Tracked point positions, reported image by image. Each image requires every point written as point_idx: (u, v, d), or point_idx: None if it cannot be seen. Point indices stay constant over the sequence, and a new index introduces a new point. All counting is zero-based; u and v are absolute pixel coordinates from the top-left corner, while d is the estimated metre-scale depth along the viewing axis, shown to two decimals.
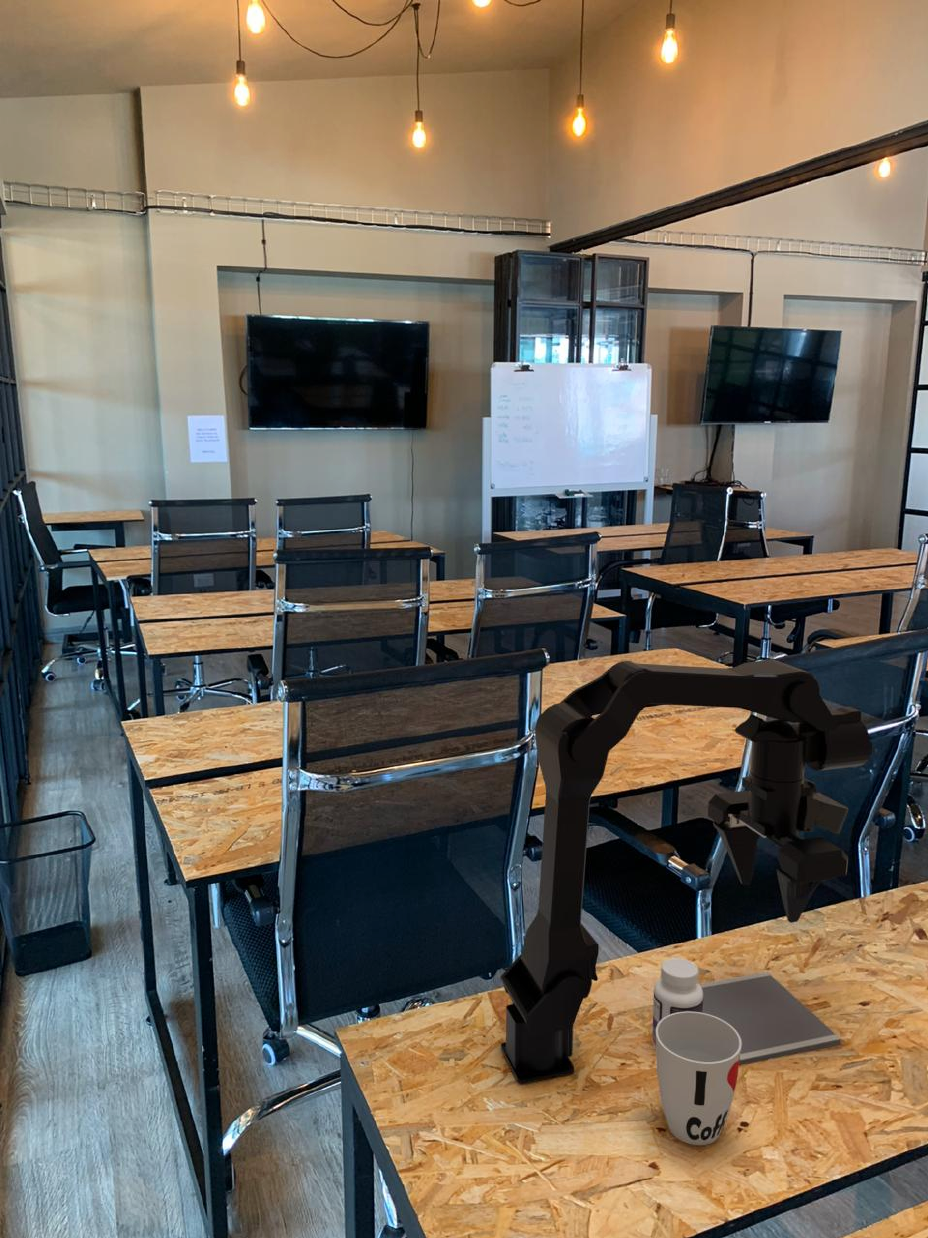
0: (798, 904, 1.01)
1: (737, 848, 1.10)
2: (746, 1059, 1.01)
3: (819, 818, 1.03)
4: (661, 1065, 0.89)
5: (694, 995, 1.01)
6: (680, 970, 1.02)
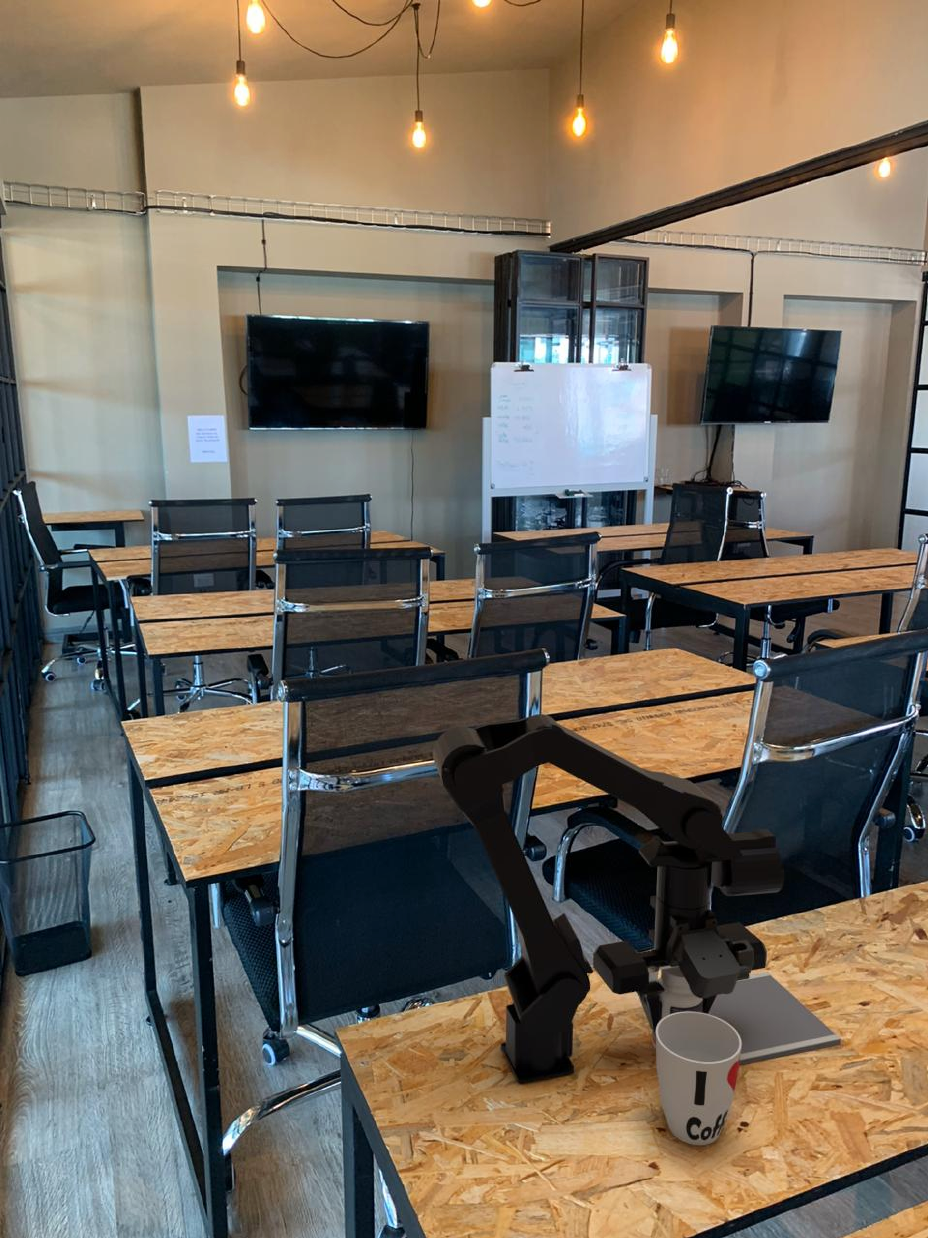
0: (646, 1010, 1.02)
1: None
2: (746, 1059, 1.01)
3: (676, 959, 0.97)
4: (661, 1065, 0.89)
5: (694, 995, 1.01)
6: (680, 970, 1.02)
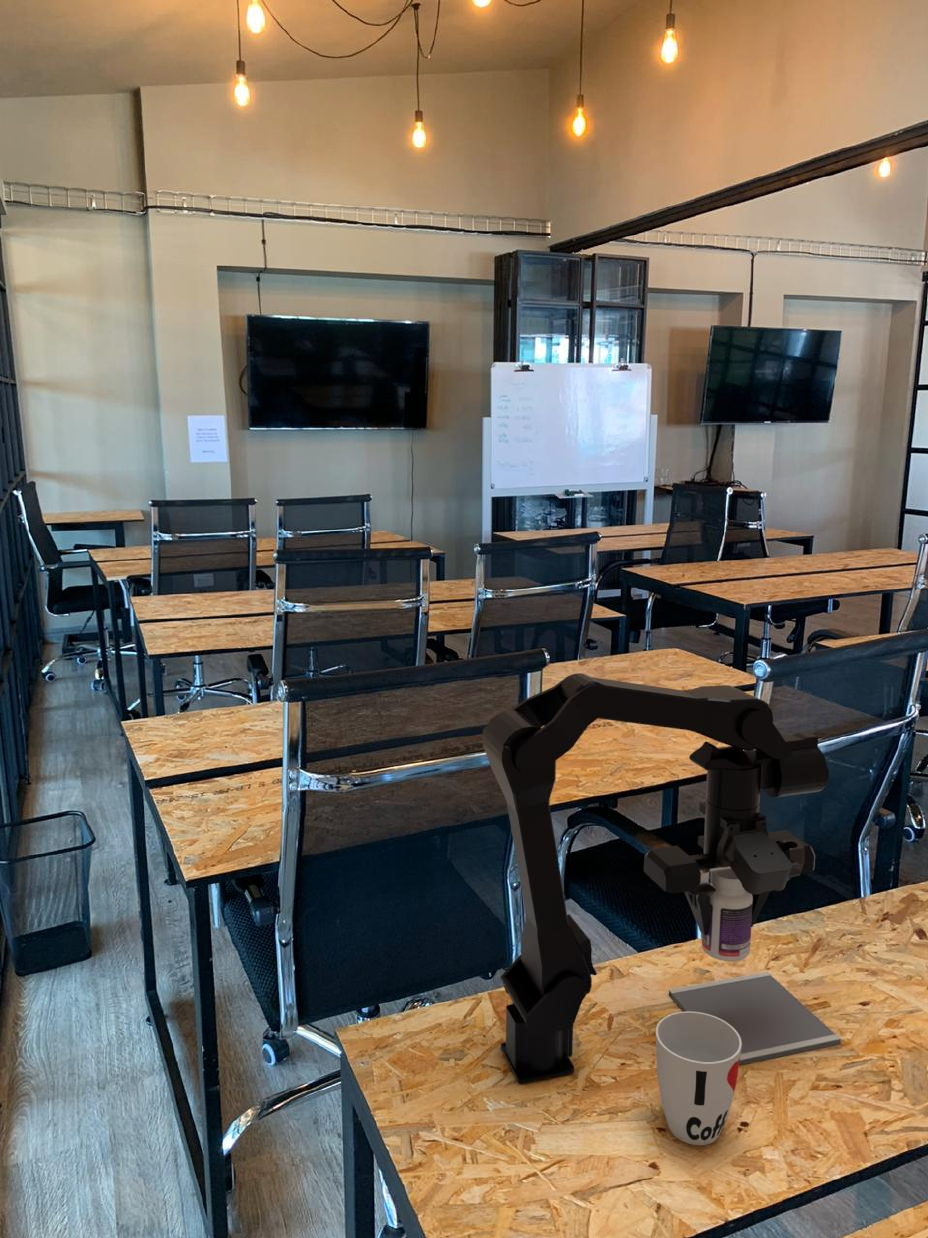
0: (696, 913, 1.04)
1: None
2: (746, 1059, 1.01)
3: (727, 858, 0.99)
4: (661, 1065, 0.89)
5: (744, 897, 1.03)
6: (730, 873, 1.04)
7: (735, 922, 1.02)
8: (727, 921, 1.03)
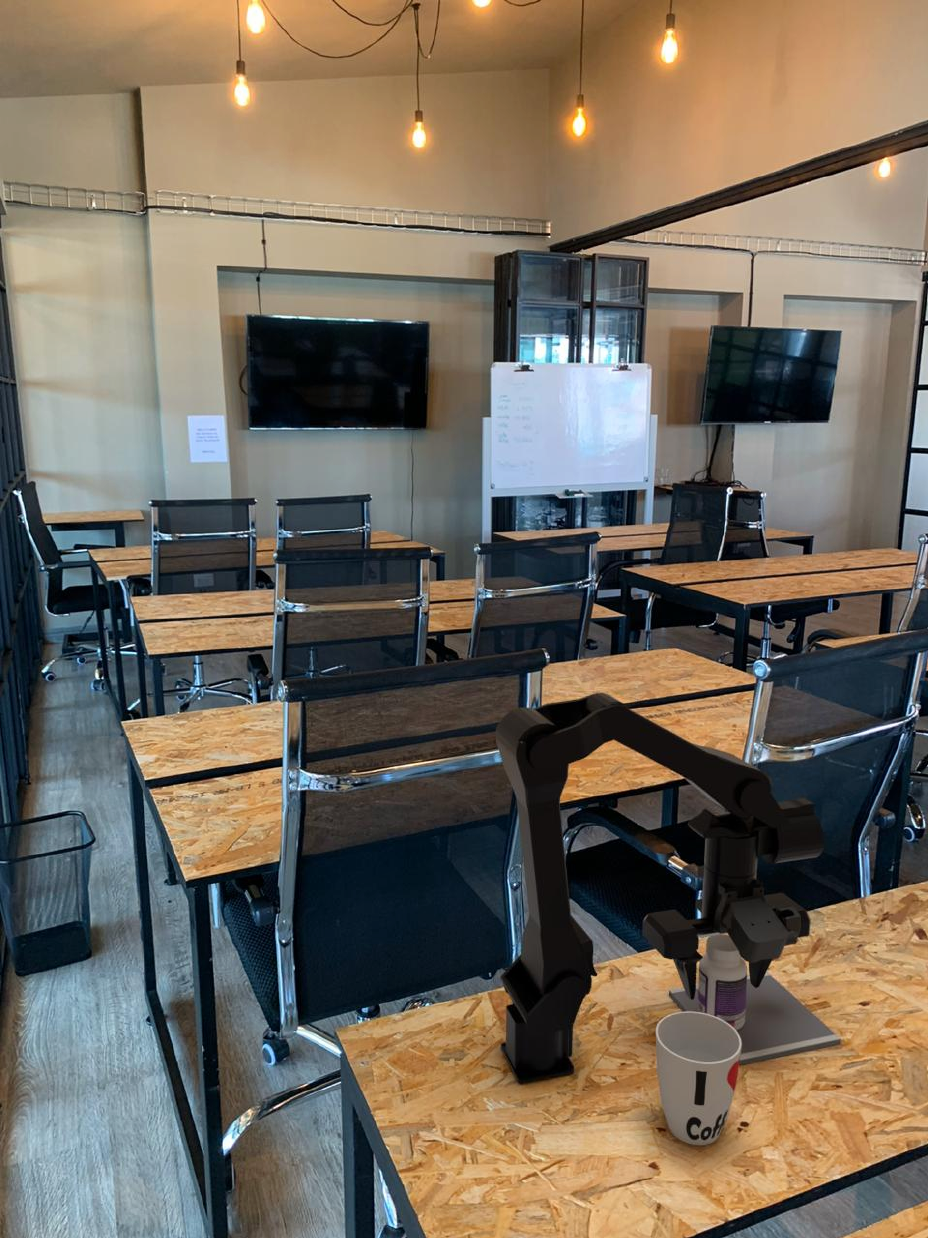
0: (683, 978, 1.05)
1: None
2: (746, 1059, 1.01)
3: (725, 925, 1.01)
4: (661, 1065, 0.89)
5: (738, 969, 1.05)
6: (725, 945, 1.06)
7: (730, 994, 1.04)
8: (722, 993, 1.04)
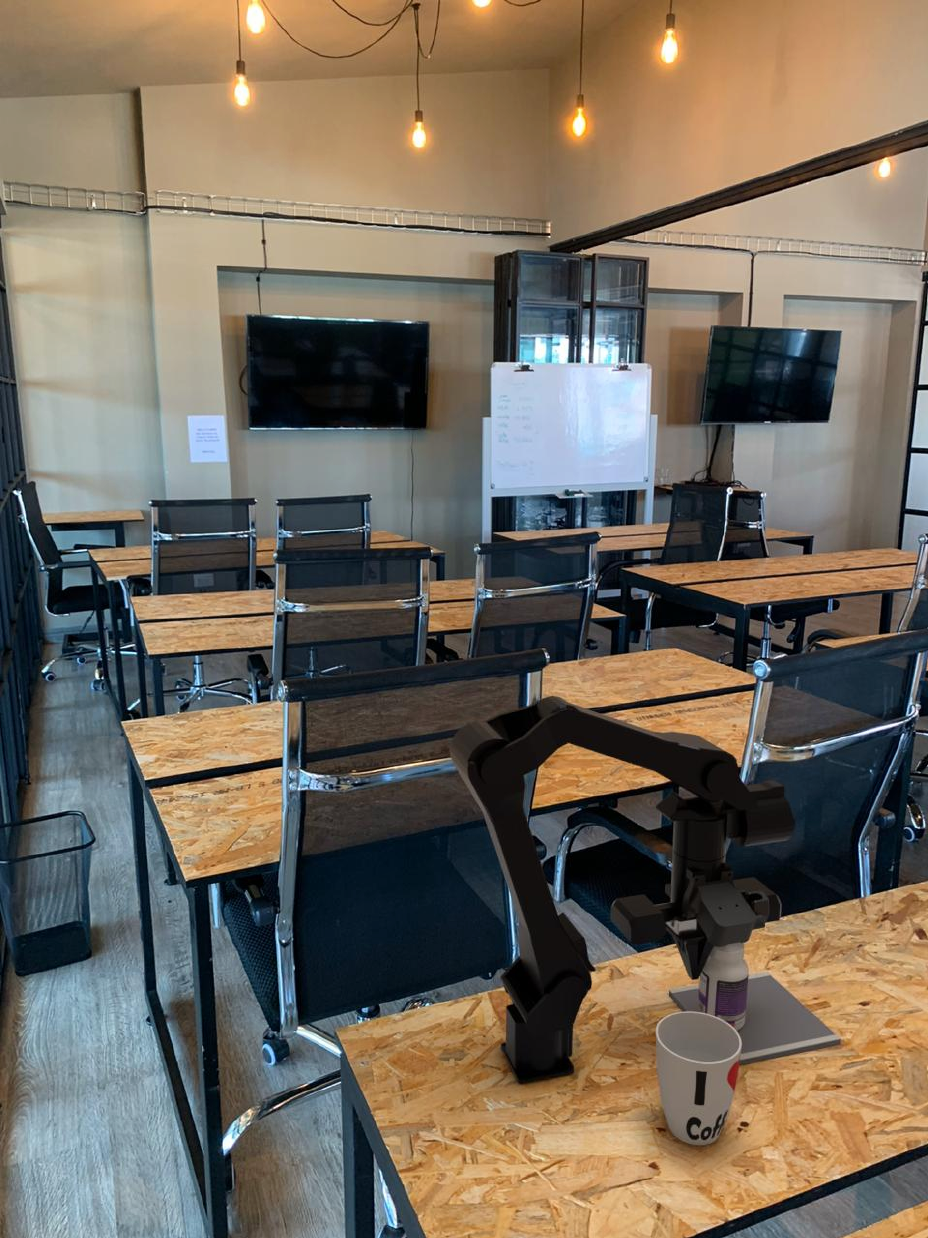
0: (684, 958, 1.05)
1: None
2: (746, 1059, 1.01)
3: (693, 909, 0.99)
4: (661, 1065, 0.89)
5: (740, 970, 1.05)
6: (727, 946, 1.05)
7: (731, 994, 1.04)
8: (723, 993, 1.04)
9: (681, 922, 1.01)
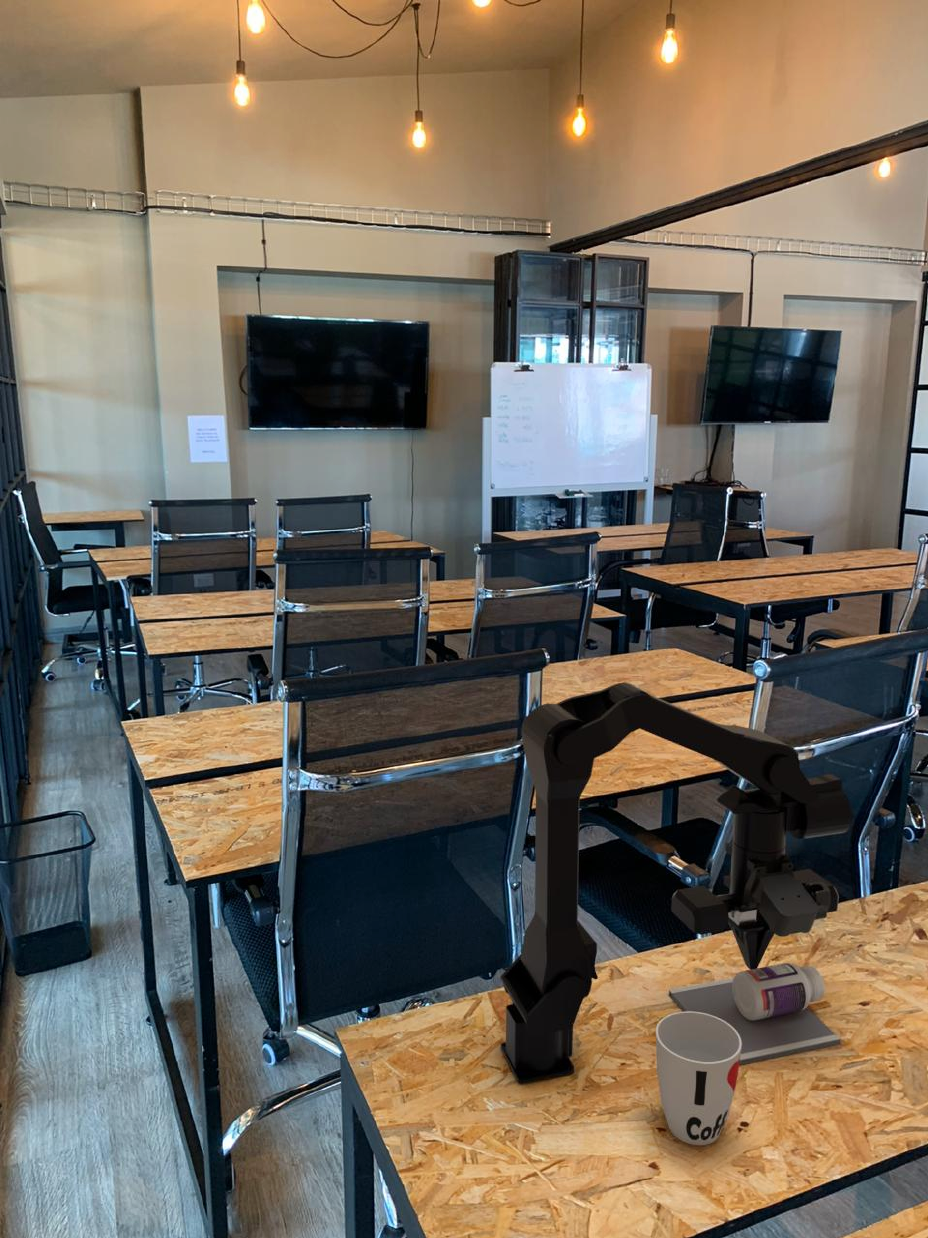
0: (743, 948, 1.07)
1: None
2: (746, 1059, 1.01)
3: (755, 900, 1.01)
4: (661, 1065, 0.89)
5: None
6: None
7: (794, 999, 1.07)
8: (794, 991, 1.07)
9: (742, 913, 1.03)
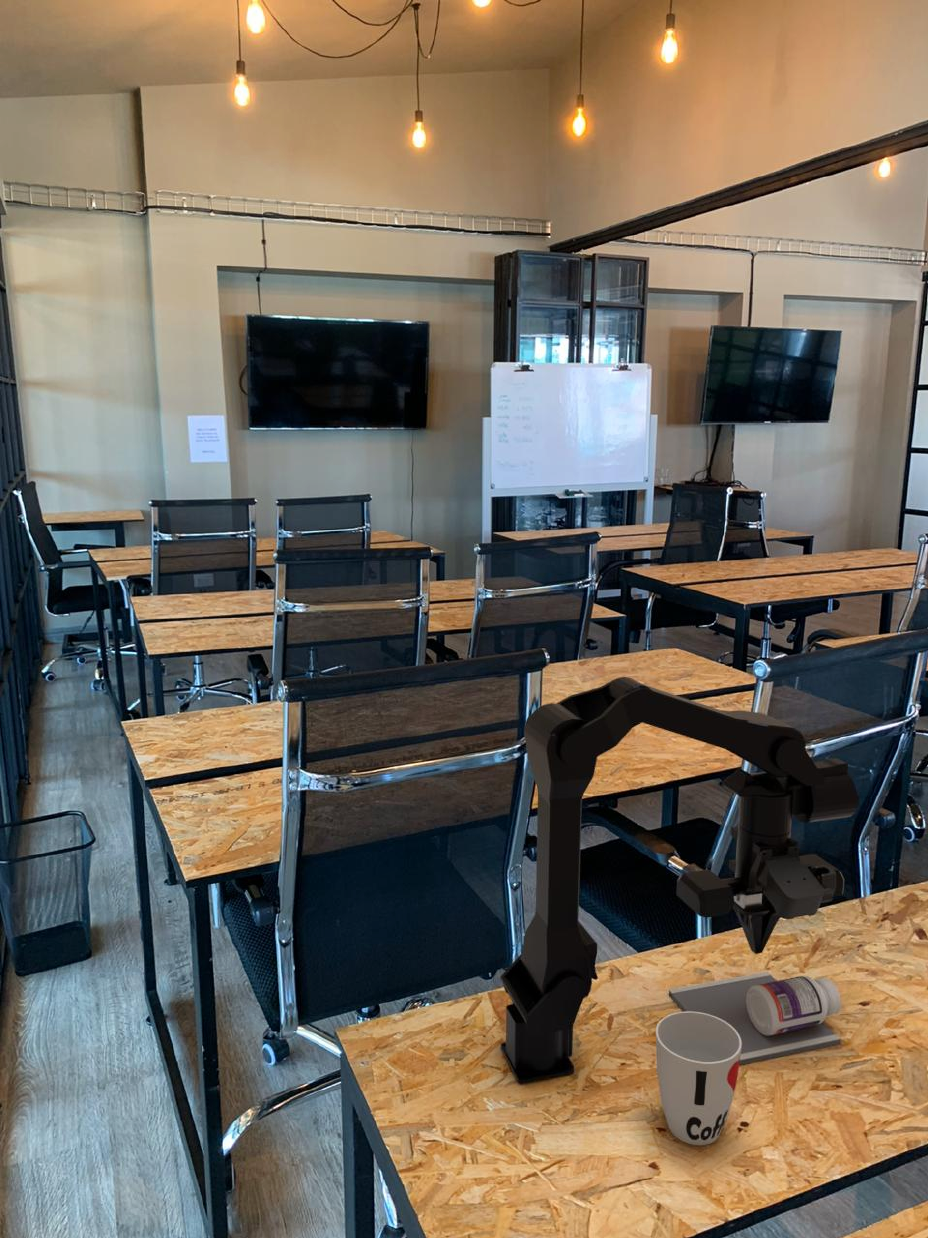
0: (748, 932, 1.07)
1: None
2: (746, 1059, 1.01)
3: (760, 883, 1.01)
4: (661, 1065, 0.89)
5: None
6: None
7: None
8: (807, 1026, 1.05)
9: (747, 896, 1.03)
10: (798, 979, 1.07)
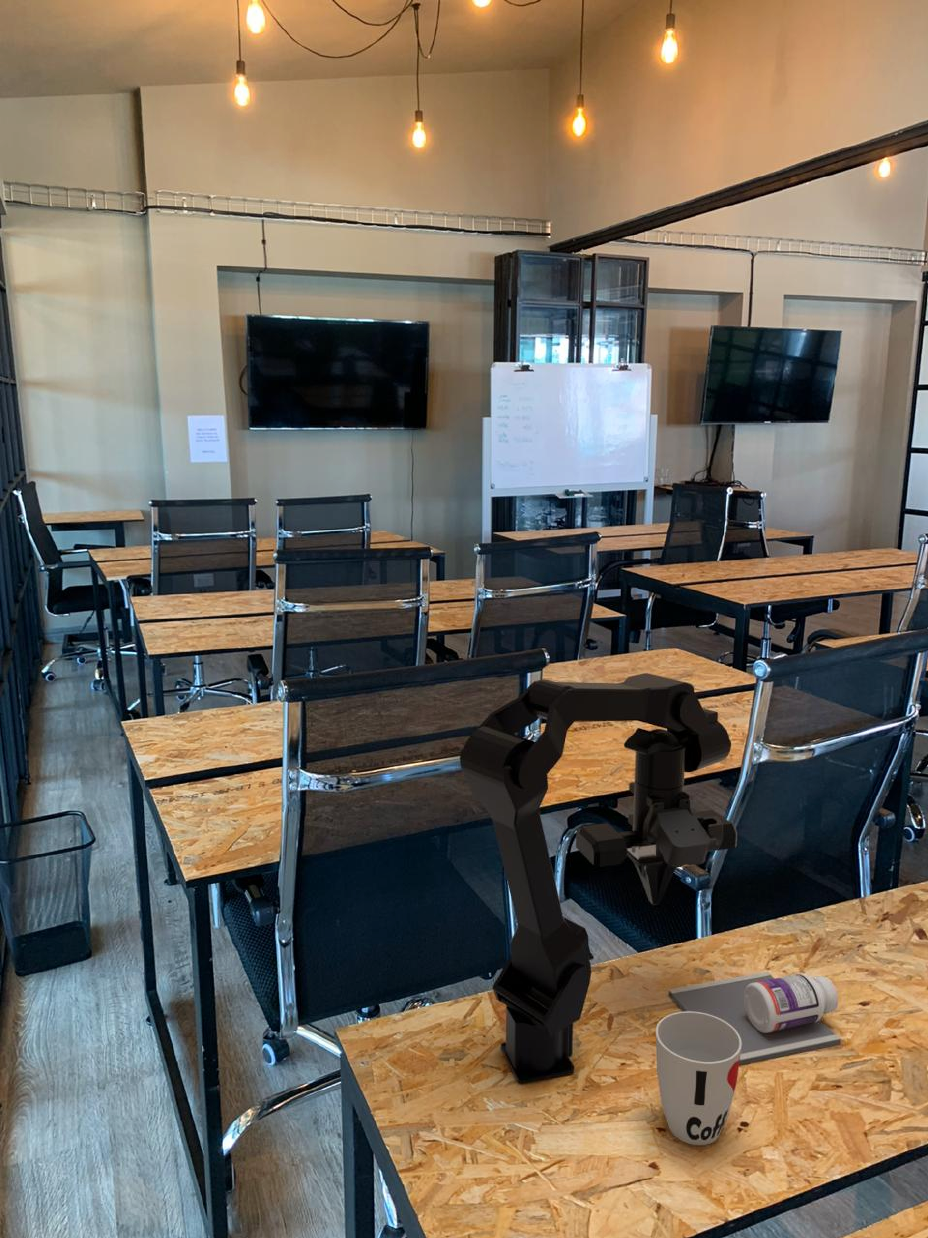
0: (645, 884, 1.11)
1: None
2: (746, 1059, 1.01)
3: (652, 834, 1.05)
4: (661, 1065, 0.89)
5: None
6: None
7: None
8: (806, 1021, 1.05)
9: (641, 847, 1.07)
10: (793, 976, 1.08)
